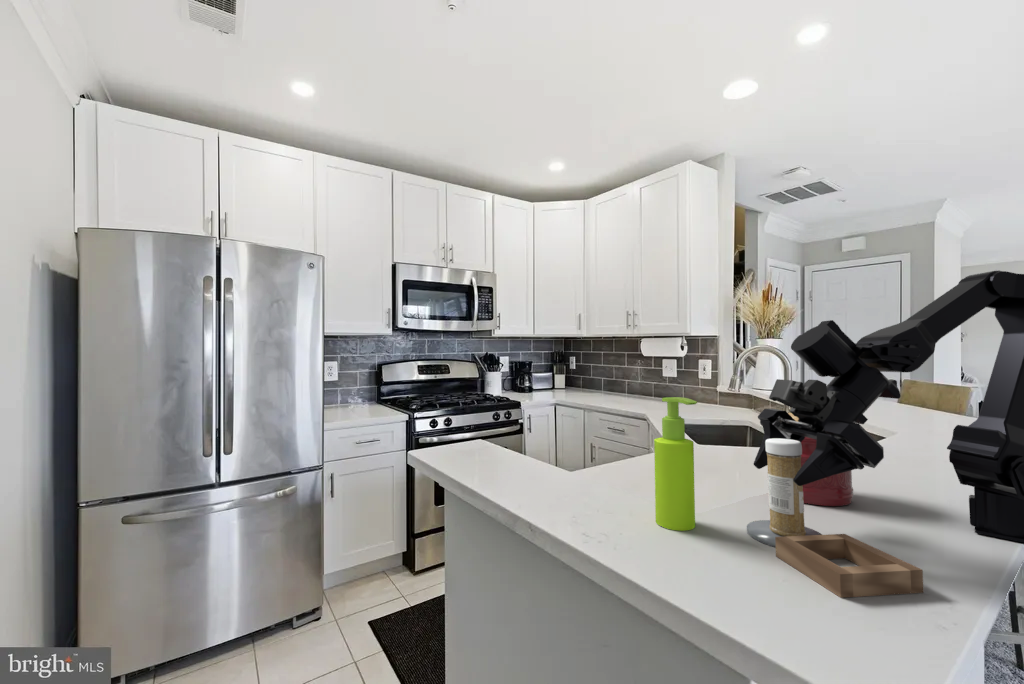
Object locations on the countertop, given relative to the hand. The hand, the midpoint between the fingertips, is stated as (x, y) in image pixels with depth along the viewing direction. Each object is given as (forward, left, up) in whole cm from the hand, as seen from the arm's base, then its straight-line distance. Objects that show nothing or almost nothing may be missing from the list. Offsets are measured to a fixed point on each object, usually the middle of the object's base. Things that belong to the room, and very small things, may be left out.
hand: (774, 474), depth 63 cm
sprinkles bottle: (-1, -1, -9) cm, 9 cm away
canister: (+2, -26, -9) cm, 28 cm away
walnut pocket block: (-9, +6, -9) cm, 14 cm away
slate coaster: (-1, -1, -9) cm, 9 cm away
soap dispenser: (+12, +6, -9) cm, 16 cm away
